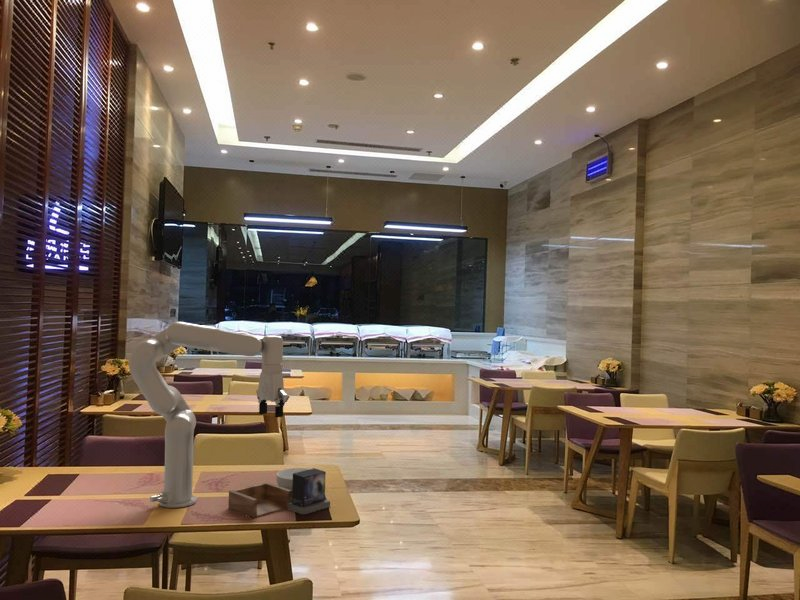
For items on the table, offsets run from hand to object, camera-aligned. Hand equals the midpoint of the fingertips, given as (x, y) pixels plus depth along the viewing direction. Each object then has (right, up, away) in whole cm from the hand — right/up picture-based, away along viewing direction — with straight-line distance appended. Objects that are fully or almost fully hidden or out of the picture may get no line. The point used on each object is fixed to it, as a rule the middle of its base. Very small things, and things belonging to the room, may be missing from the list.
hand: (270, 415), depth 224 cm
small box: (+16, -29, -11) cm, 34 cm away
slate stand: (+16, -30, -11) cm, 36 cm away
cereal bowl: (+9, -31, +8) cm, 33 cm away
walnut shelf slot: (-1, -30, -13) cm, 33 cm away
